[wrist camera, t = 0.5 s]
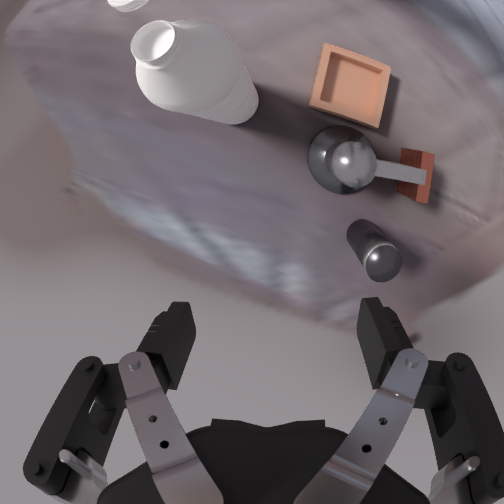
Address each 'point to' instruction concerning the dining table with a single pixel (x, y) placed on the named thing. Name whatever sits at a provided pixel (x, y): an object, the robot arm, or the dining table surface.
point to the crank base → (318, 156)
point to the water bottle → (191, 68)
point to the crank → (381, 168)
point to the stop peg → (374, 251)
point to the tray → (349, 86)
